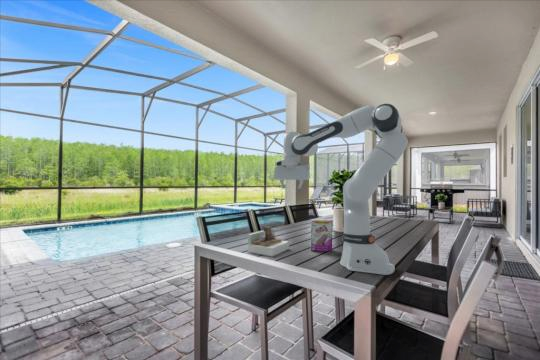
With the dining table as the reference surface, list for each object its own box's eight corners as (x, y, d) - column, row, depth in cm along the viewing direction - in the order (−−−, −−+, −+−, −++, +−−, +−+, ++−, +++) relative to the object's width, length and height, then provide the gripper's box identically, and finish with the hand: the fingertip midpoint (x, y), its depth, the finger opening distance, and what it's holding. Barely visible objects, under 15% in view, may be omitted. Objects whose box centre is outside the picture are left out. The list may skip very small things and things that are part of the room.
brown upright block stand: (281, 241, 144) (281, 225, 144) (266, 246, 132) (266, 229, 132) (268, 239, 149) (268, 224, 149) (252, 244, 138) (252, 227, 138)
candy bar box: (311, 251, 139) (311, 220, 139) (310, 248, 144) (310, 219, 144) (332, 252, 138) (332, 220, 138) (331, 249, 143) (331, 219, 143)
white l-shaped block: (288, 248, 143) (288, 232, 143) (272, 256, 129) (272, 238, 129) (265, 245, 152) (265, 229, 152) (247, 251, 137) (248, 234, 137)
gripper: (311, 162, 139) (311, 188, 139) (278, 163, 150) (278, 187, 150) (306, 161, 133) (306, 189, 133) (272, 162, 144) (272, 188, 144)
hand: (291, 188), depth 142 cm, fingers open, 8 cm apart
